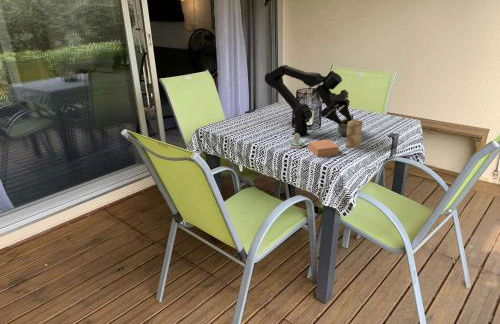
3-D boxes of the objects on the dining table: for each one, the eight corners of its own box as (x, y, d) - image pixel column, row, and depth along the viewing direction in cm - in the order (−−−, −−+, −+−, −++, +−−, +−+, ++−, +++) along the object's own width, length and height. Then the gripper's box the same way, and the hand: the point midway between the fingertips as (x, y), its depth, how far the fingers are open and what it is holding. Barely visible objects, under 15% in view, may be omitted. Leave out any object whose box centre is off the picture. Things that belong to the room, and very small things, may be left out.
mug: (336, 137, 185) (337, 118, 181) (338, 130, 196) (339, 111, 192) (355, 139, 182) (357, 119, 178) (356, 131, 193) (358, 112, 189)
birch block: (345, 146, 173) (347, 122, 168) (350, 143, 176) (352, 119, 172) (355, 148, 170) (357, 124, 165) (360, 145, 173) (362, 121, 169)
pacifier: (303, 149, 172) (304, 144, 178) (303, 136, 170) (305, 132, 175) (288, 148, 174) (289, 143, 179) (288, 136, 171) (289, 131, 176)
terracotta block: (308, 150, 172) (308, 141, 170) (328, 147, 174) (328, 139, 172) (317, 157, 163) (317, 149, 161) (337, 154, 165) (338, 146, 163)
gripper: (327, 88, 162) (349, 116, 159) (347, 81, 175) (367, 107, 172) (311, 103, 170) (331, 130, 167) (331, 96, 183) (350, 121, 180)
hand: (346, 121), depth 171 cm, fingers open, 9 cm apart
